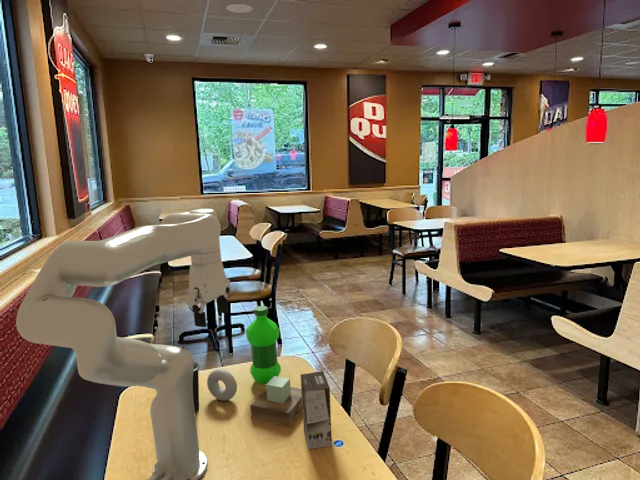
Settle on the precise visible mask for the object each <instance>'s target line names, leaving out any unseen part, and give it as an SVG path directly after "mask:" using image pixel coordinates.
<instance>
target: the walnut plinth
mask: <svg viewBox="0 0 640 480" xmlns="http://www.w3.org/2000/svg"><path fill="white" fill-rule="evenodd" d="M290 389H291V395H290V396H289V397H288V398H287V399H286V401H285V402H284V403H283V404H282V403H277V402H272V401H268V400H267V390H266V388H265V389H264V390H263V391H262V392H261V393H260V394H259V396H257V398H256V399H254V400H253V401H252V402H251V404H250V414H251V418H252V419H257V420H261V421H266V422H270V423H274V424H278V425H281V426H287V427H290V426H291V425H292V423H293V422H294V421H295V420H296V418H297V417H298V415H299V414H301V412H302V411H303V408H302V393H301V388H297V387H294V386H293V387H292V386H290Z"/></svg>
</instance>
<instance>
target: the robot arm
mask: <svg viewBox="0 0 640 480" xmlns="http://www.w3.org/2000/svg"><path fill="white" fill-rule="evenodd" d="M221 231H222V227H221V223H220V221H219V218H218V214H217V212H216V210H214V209H213V208H197V209H191V210H190V211H188V212H181V213H177V212H176V213H169V215H166V216H165V217H163V218H162V220H160V222H159V224H151V225H141V226H137V227H135V228H133V229H129V230H126V231H124V232H122V233H119V234H116V235H113V236H111V237H108V238H104V239H101V240H73V239H72V240H68V241H67V240H66V241H65V242H62V243H61V244H60V245H58V246H57V247H56V248H55V249H54V250H53V251H52V252H51V254H50V255H49V257H48V258H47V259H46V260H45V261H44V264H43V265H42V266H41V269H40V270H39V272H38V274H37V275H36V278H35V279H34V281H33V282H32V284H31V286H30V287H29V290H28V291H27V293H26V294H25V297H24V298H23V300H22V302H21V304H20V306H19V308H18V310H17V313H16V317H15V319H16V320H15V324H16V325H15V326H16V330H17V332H18V334H19V335H20V336H21V337H22V338H23V339H24V340H26V341H27V342H29V343H30V342H31V343H34V344H39V345H45V346H46V345H47V346H54V347H61V348H67V349H68V348H69V349H72V350H73V351H74V353H75V357H76V358H75V359H76V366H77V372H78V375H79V376H80V378H82V380H86V381H89V382H92V383H97V384H102V385H108V386H109V385H110V386H115V387H131V388H132V387H143V388H148V389H153V390H155V391H156V395H155V396H154V398H152V399H153V400H152V401H151V403H150V407H149V409H150V410H149V411H150V418H151V424H152V430H153V431H152V432H153V433H152V434H153V439H154V447H155V452H156V453H155V455H156V461H157V462H156V463H154V465H153V468H152V471H151V476H150V477H148V478H147V479H146V480H199V479H201V478H202V477H203V476H204V475H205V473H206V471H207V469H208V459H207V456H206V454H205V453H204V452H202V451H200V445H199V436H198V428H197V421H196V420H197V419H196V413H195V409H194V401H193V372H194V362H195V361H194V357H193V356H192V354H191V353H190V351H188V350H187V349H185V348H184V349H183V348H182V346H181V347H180V346H176V345H168V344H161V343H160V344H158V343H157V344H156V343H148V342H146V341H143V340H140V339H136V338H130V337H120V336H118V335H117V325H116V320H115V317H114V315H113V313H112V311H111V310H110V308H109V307H107V306H106V305H105V304H104V303H102V302H100V301H97V300H95V299H92V298H87V297H77V296H76V297H75V296H74V294H75V291H76V289H77V287H78V286H82V287H85V286H86V287H95V288H102V287H103V288H105V287H111V286H115V285H117V284H119V283H121V282H124V281H125V280H128V279H129V278H131V277H134V276H135V275H137V274H139V273H141V272H143V271H145V270H147V269H149V268H151V267H154V266H156V265H159V264H164V263H168V262H169V263H170V262H173V261H176V260H180V259H184V258H188V257H190V261H191V262H190V263H191V264H190V266H189V271H188V274H189V275H188V286H189V287H188V288H189V289H188V290H189V295H188V297H187V298H186V299H185V303H186V305H187V306H188V309H189V310H190V311H191V313H193V319H194V325H195V326H194V327H199V328H206V327H207V317H206V312H205V306H206V305H207V304H208V303H210V302H212V301H213V300H216V308H217V309H216V310H217V312H218V313H220V314H228V313H229V304H228V299H229V292H230V285H231V280H230V279H228V278H226V273H225V269H224V264H223V261H222V253H221V243H220V242H221V240H220V236H221ZM199 304H200V305H199Z"/></svg>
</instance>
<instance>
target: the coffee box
mask: <svg viewBox="0 0 640 480" xmlns="http://www.w3.org/2000/svg"><path fill="white" fill-rule="evenodd" d="M299 376H300V387H301V388H300V389H301V393H302V408H303V409H302V423H303V431H304V436H305V440H306V446H307V449H308V450H313V449H320V448H325V447H332V445H333V443H332V442H333V441H332V439H333V438H332V437H333V436H332V413H331V388H330V385H329V382H328V379H327V378H326V374H325V372H324V371H323V370H321V371H315V372H310V373H309V372H308V373H302V374H300V375H299Z"/></svg>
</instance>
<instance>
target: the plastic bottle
mask: <svg viewBox="0 0 640 480" xmlns="http://www.w3.org/2000/svg"><path fill="white" fill-rule="evenodd" d="M268 314H269V308H268V307H267V306H265V305H258V306H255V307H254V308H253V315H255V317H256V318H255V319H254V320H253V322H252V323H250V325H249V326H247V328H246V331H245V336H246V340H247V341H248V343H249V345H250V347H251V349H250V350H251V360H252V364H251V366H250V369H249V372H250V375H251V377H252V378H253V380H254V381H255V382H257V383H258V384H260V385H265V386H266V384H267V383H268V382H269V381H270V380H271V379H272V378H273V377H274V376H278V377H280V374H281V371H282V368H281V365H280V363H279V361H278V354H277V353H278V352H277V341H278V339H279V337H280V328H279V327H278V325H277V324H276V322H274V321H273V320H272V319H270V318H268V317H267V316H268Z"/></svg>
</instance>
